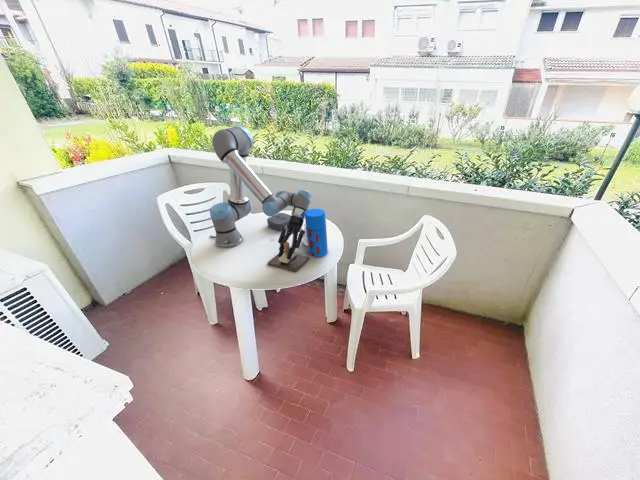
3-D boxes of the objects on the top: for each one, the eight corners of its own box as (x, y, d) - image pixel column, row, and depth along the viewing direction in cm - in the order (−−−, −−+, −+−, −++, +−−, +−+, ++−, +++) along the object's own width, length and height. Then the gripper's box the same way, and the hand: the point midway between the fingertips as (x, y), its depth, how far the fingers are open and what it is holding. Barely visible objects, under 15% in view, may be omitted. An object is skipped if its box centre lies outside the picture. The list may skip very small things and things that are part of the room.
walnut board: (268, 264, 153) (267, 262, 153) (283, 252, 164) (282, 249, 163) (295, 272, 147) (295, 269, 147) (309, 259, 158) (309, 256, 157)
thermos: (318, 245, 170) (315, 206, 156) (331, 251, 164) (329, 211, 150) (305, 253, 163) (300, 213, 149) (318, 259, 157) (314, 218, 143)
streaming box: (296, 224, 195) (295, 217, 192) (281, 232, 185) (279, 224, 182) (282, 218, 201) (281, 212, 199) (266, 226, 192) (265, 219, 189)
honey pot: (326, 245, 171) (324, 217, 161) (305, 248, 168) (301, 220, 157) (321, 235, 181) (319, 209, 171) (301, 238, 178) (298, 211, 167)
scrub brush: (287, 265, 150) (284, 248, 144) (279, 263, 152) (276, 246, 146) (297, 255, 158) (295, 240, 152) (290, 254, 159) (287, 238, 154)
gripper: (314, 223, 154) (301, 263, 151) (287, 217, 160) (274, 256, 157) (308, 217, 147) (294, 260, 144) (280, 212, 153) (266, 252, 150)
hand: (284, 257), depth 150 cm, fingers closed on scrub brush, 5 cm apart
